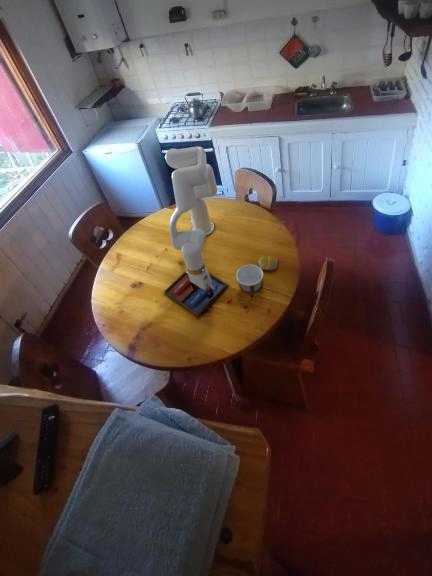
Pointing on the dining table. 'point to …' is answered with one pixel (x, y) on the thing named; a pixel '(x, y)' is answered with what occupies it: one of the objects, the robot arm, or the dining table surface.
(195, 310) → the sorting tray
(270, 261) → the bread roll
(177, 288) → the red spoon
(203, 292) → the blue spoon
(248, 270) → the food container
